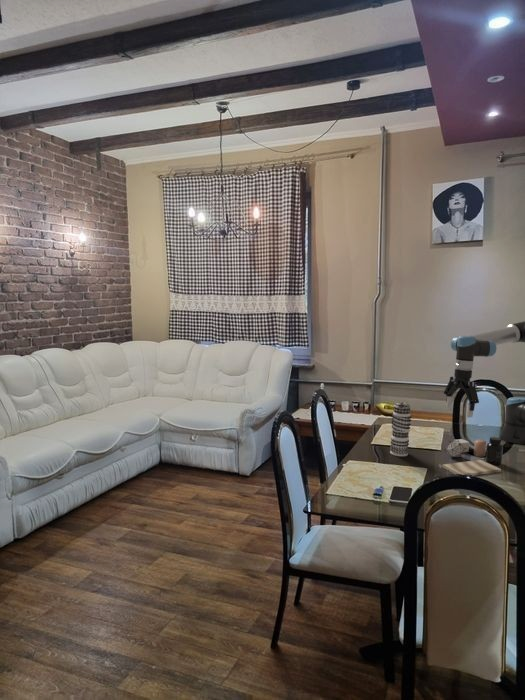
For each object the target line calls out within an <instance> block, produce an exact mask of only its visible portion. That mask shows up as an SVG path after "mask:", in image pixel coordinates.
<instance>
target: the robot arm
mask: <svg viewBox="0 0 525 700" xmlns="http://www.w3.org/2000/svg"><path fill="white" fill-rule="evenodd" d="M505 343H511V344H515V343H525V321H520V322H515V323H511V324H508V325H507V326H506V327H502V328H498V329H494V330H490V331H485V332H481V333H476V334H473V335H459V336H454V337H453V338H452V339H451V341H450V348H451V350H452V351H454V352H456V357H455V365H454V366H455V369H454V374H453V375H454V376H450V377H449V381H448V383H447V384H446V385H447V386H446V387H445V388H444V391H443V394H444V395H445V396H446V407H445V410H447V411H452V410H453V401H454V396H453V395H454V394H455V392H456V391H457V390H458V389H461V390H463V392H464V393H465V396H466V397H467V400H468V403H467V411H466V418H473V416H474V411H475V406H476V404H479V403H480V401H479V400H480V399H479V396H478V393H477V389H476V388H477V387H476V381H471V379H472V378H473V377H472V375H473V369H474V368H473V366H474V357H486V358H487V357H493V356H495V355H496V353H497V346H499V345H504V344H505ZM499 438H500V439H501V441H502V440H503V441H504V442H508V443H512V444H520V445H525V396H523V397H521V396H512V397H509V398H507V400H506V404H505V415H504V425H503V427H502V428H501V431H500V433H499Z"/></svg>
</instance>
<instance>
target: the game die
mask: <svg viewBox="0 0 525 700" xmlns="http://www.w3.org/2000/svg"><path fill="white" fill-rule="evenodd" d="M457 440H458V439H457ZM458 441H459V440H458ZM458 441H456V442H454V441H451V440H449V441H448V442H449V443H448V446H447V448H445V449H444V451H446V452H447V453H449V455H450V456H451V459H454V458H458V457H459V458H462V455H463V453H464V452H463V451H464V449H466V448H464V447H463V446H462V445H461V443H459V442H458Z"/></svg>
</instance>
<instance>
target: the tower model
mask: <svg viewBox="0 0 525 700" xmlns="http://www.w3.org/2000/svg"><path fill="white" fill-rule="evenodd" d="M411 408H412V406H411V405H410V404H409V403H408V402H405V401H398V402H396V403H394V404H393V412H392V414H391V430H392V433H391V438H390V448H389V450H390V451H389V453H390V455H393V456H396V457H407V456H408V455H409V449H410V448H409V445H410V444H409V443H410V440H409V437H410V436H409V434H410V433H409V432H411V431H410V429H411V427H410V426H412V424H411V423H410V422H412V420H411V419H412V416H411Z"/></svg>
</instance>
